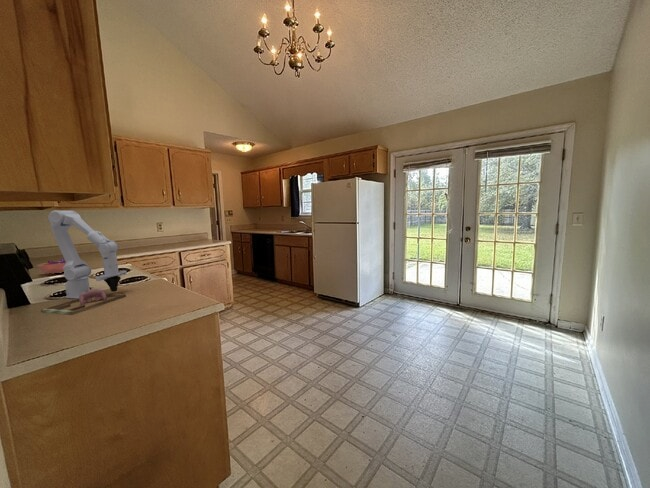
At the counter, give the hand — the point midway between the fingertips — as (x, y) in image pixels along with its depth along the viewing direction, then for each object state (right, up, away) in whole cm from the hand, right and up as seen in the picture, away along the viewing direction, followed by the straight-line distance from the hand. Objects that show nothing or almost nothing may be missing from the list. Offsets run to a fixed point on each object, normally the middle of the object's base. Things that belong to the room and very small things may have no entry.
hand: (114, 291), depth 141 cm
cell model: (-83, +3, +56) cm, 101 cm away
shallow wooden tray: (-3, -4, -13) cm, 14 cm away
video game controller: (-2, -4, -10) cm, 11 cm away
